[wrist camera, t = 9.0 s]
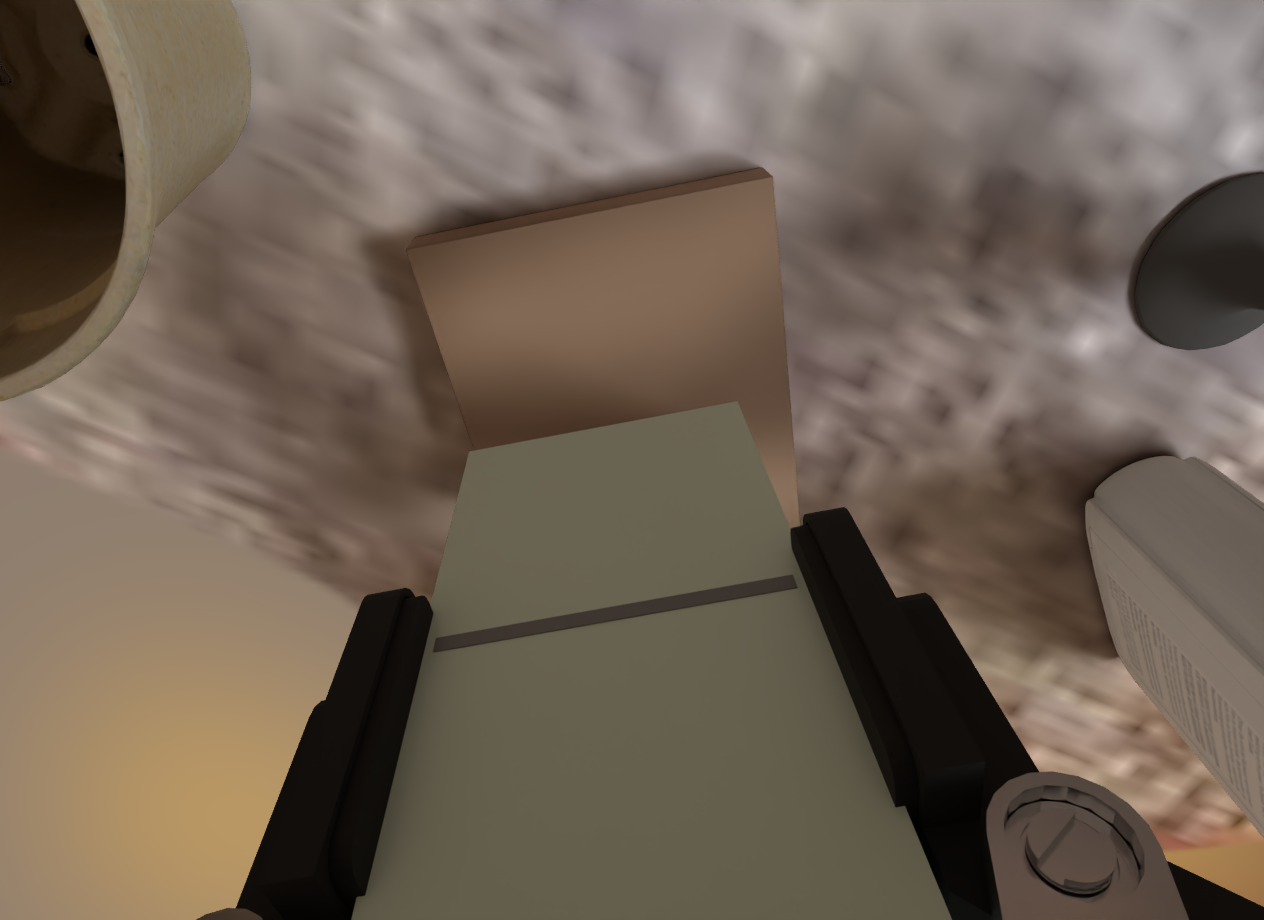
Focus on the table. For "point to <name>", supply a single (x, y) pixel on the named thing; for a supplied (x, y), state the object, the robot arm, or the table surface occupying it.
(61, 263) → the flower pot
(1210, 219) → the sundae
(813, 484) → the table surface
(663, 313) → the domino board
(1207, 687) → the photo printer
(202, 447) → the table surface
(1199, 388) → the table surface
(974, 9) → the table surface
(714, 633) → the pale green domino
